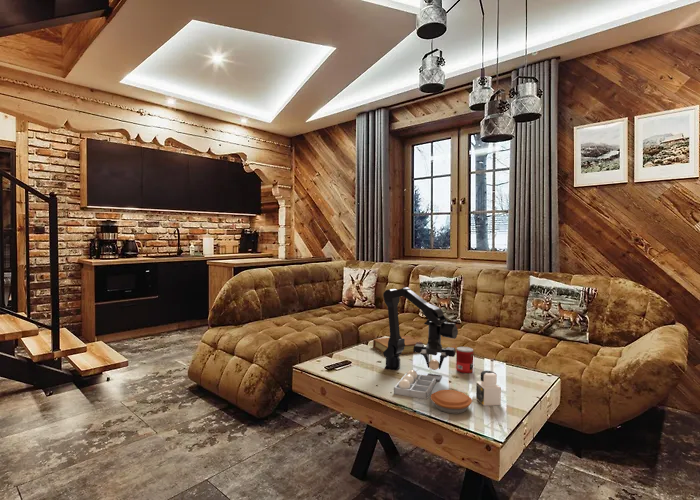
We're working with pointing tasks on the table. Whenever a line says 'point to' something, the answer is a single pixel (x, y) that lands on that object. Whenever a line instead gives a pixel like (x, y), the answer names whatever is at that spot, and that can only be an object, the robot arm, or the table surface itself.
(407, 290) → the robot arm
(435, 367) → the brown egg
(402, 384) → the white egg
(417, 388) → the egg tray
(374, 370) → the table surface
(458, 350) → the canned food
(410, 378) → the white egg
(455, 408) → the pie
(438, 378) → the egg dish
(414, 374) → the white egg
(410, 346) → the diary
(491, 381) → the medicine bottle
